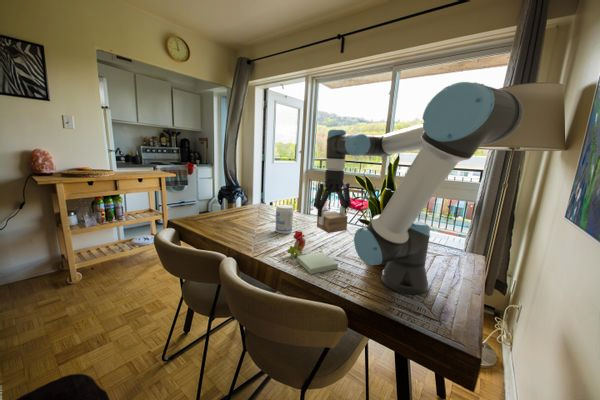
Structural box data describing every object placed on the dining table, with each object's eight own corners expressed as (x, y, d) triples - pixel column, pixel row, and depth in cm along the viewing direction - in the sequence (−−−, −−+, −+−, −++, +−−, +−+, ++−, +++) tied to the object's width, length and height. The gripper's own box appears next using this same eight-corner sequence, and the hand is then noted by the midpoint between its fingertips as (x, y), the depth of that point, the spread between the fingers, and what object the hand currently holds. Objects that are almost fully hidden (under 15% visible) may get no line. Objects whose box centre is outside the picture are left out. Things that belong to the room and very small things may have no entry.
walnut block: (346, 230, 101) (347, 216, 99) (328, 233, 97) (329, 218, 95) (334, 224, 108) (334, 211, 107) (316, 226, 104) (317, 213, 103)
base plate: (337, 268, 95) (337, 263, 95) (310, 273, 90) (310, 268, 90) (321, 256, 106) (322, 252, 106) (297, 260, 101) (297, 256, 100)
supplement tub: (272, 232, 135) (272, 206, 132) (279, 228, 143) (280, 203, 140) (288, 235, 131) (289, 208, 128) (295, 230, 140) (295, 205, 137)
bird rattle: (293, 255, 111) (283, 253, 104) (300, 231, 113) (290, 228, 105) (305, 258, 108) (296, 257, 100) (311, 234, 110) (302, 231, 102)
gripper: (352, 169, 105) (348, 218, 110) (306, 168, 97) (304, 222, 101) (362, 170, 99) (358, 223, 103) (314, 170, 90) (311, 228, 94)
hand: (331, 223), depth 102 cm, fingers closed on walnut block, 9 cm apart
